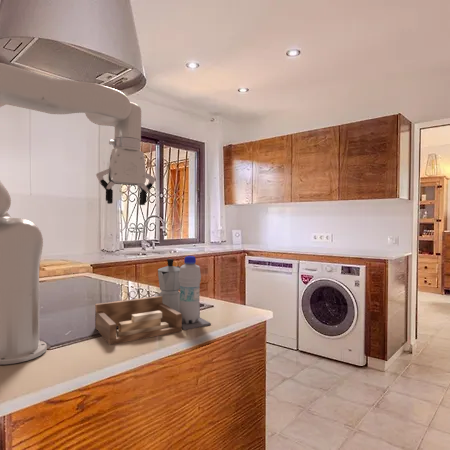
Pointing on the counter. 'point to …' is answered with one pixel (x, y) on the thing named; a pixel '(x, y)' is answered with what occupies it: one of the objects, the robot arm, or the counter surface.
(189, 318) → the bottle
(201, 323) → the mat
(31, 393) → the counter surface
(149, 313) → the offcut stack
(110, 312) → the rack
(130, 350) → the counter surface
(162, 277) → the coffee maker
